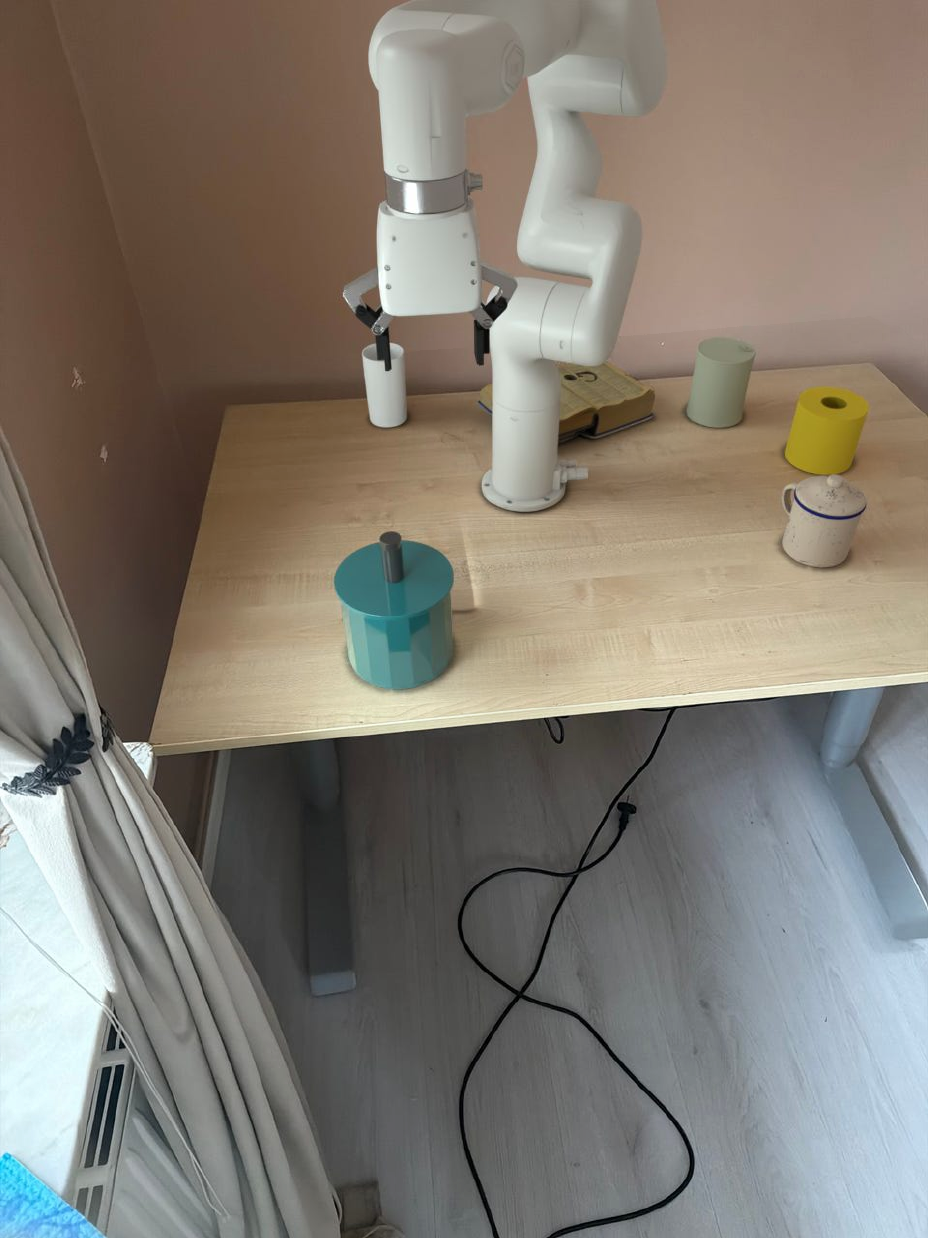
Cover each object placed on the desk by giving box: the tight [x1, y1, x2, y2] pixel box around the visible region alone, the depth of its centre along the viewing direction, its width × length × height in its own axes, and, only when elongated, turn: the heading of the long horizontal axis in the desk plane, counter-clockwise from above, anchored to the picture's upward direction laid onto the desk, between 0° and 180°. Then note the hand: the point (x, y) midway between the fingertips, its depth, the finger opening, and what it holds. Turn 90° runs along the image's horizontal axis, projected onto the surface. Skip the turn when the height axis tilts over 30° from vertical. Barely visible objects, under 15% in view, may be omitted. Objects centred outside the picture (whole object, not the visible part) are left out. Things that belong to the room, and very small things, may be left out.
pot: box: [340, 591, 454, 690], centre depth 106 cm, size 13×13×12 cm
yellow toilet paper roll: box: [784, 386, 870, 476], centre depth 137 cm, size 10×10×9 cm
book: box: [476, 360, 656, 444], centre depth 148 cm, size 25×17×6 cm
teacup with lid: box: [781, 474, 868, 568], centre depth 120 cm, size 12×9×12 cm
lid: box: [333, 530, 455, 621], centre depth 100 cm, size 14×14×7 cm
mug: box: [361, 342, 408, 428], centre depth 148 cm, size 10×7×12 cm, turn 21°
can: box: [685, 336, 756, 429], centre depth 147 cm, size 9×9×12 cm
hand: (433, 362), depth 94 cm, fingers open, 9 cm apart
